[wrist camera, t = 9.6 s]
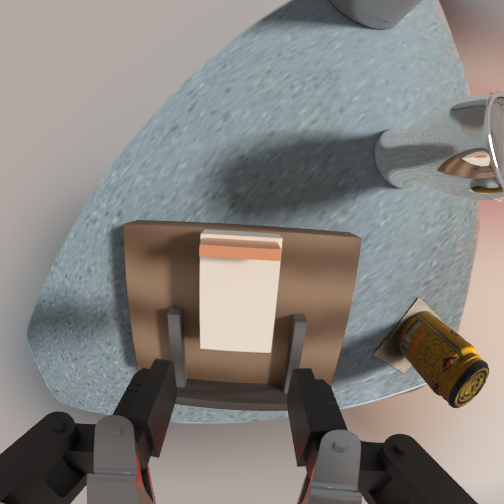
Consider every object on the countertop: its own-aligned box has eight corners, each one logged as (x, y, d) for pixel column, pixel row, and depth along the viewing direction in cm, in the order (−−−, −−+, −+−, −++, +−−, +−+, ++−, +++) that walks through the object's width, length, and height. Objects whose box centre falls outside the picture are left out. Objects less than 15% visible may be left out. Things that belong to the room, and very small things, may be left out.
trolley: (207, 227, 21) (193, 240, 16) (277, 231, 21) (287, 245, 16) (205, 329, 23) (195, 366, 18) (267, 332, 23) (273, 370, 18)
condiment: (444, 322, 27) (501, 369, 16) (403, 372, 29) (446, 431, 17) (417, 296, 26) (484, 346, 15) (371, 353, 28) (418, 422, 16)
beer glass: (416, 202, 24) (531, 224, 9) (361, 176, 23) (478, 172, 9) (430, 143, 22) (539, 129, 8) (378, 113, 22) (483, 64, 7)
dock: (137, 220, 24) (107, 229, 18) (349, 232, 24) (377, 245, 19) (148, 362, 27) (131, 395, 22) (323, 372, 28) (337, 407, 22)
